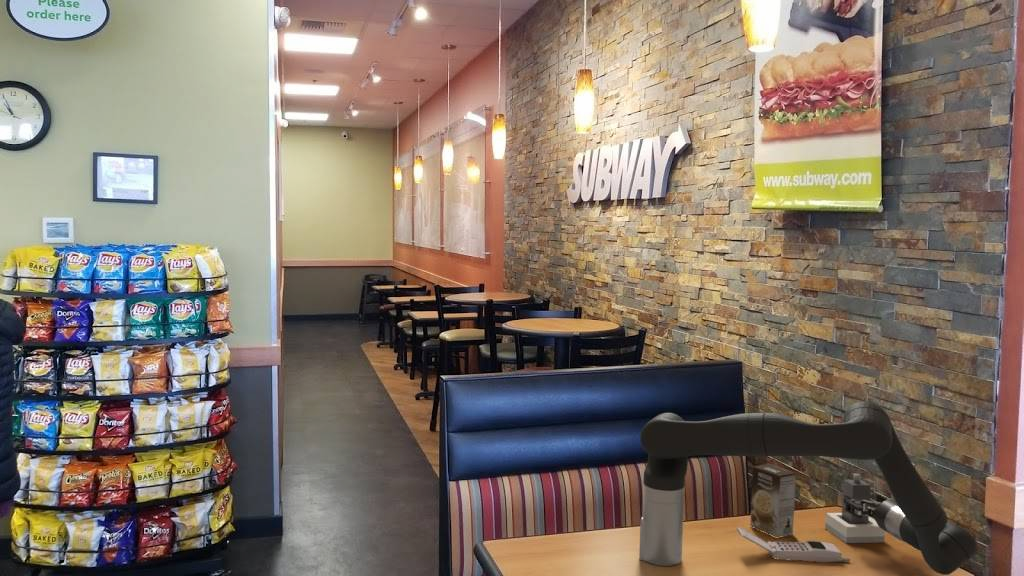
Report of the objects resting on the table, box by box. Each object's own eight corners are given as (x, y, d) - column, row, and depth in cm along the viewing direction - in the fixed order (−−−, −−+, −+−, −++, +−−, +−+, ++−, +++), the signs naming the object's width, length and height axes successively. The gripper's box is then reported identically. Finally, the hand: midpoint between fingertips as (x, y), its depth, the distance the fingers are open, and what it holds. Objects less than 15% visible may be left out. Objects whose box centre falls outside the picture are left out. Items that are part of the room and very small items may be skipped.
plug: (850, 532, 197) (853, 477, 196) (841, 526, 202) (843, 472, 201) (867, 532, 198) (870, 477, 197) (858, 525, 202) (860, 471, 201)
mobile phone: (735, 525, 188) (843, 529, 187) (734, 549, 189) (841, 554, 187) (741, 535, 183) (852, 539, 181) (740, 560, 183) (851, 565, 181)
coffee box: (748, 527, 204) (751, 465, 203) (766, 523, 207) (769, 462, 206) (776, 539, 195) (779, 475, 194) (794, 535, 199) (797, 472, 198)
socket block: (845, 543, 194) (846, 527, 194) (825, 528, 204) (825, 513, 204) (884, 542, 195) (885, 526, 195) (861, 527, 205) (862, 512, 205)
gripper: (931, 504, 181) (889, 483, 197) (872, 505, 179) (835, 483, 195) (929, 536, 182) (887, 512, 198) (871, 538, 180) (833, 513, 196)
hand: (861, 498), depth 197 cm, fingers open, 8 cm apart
